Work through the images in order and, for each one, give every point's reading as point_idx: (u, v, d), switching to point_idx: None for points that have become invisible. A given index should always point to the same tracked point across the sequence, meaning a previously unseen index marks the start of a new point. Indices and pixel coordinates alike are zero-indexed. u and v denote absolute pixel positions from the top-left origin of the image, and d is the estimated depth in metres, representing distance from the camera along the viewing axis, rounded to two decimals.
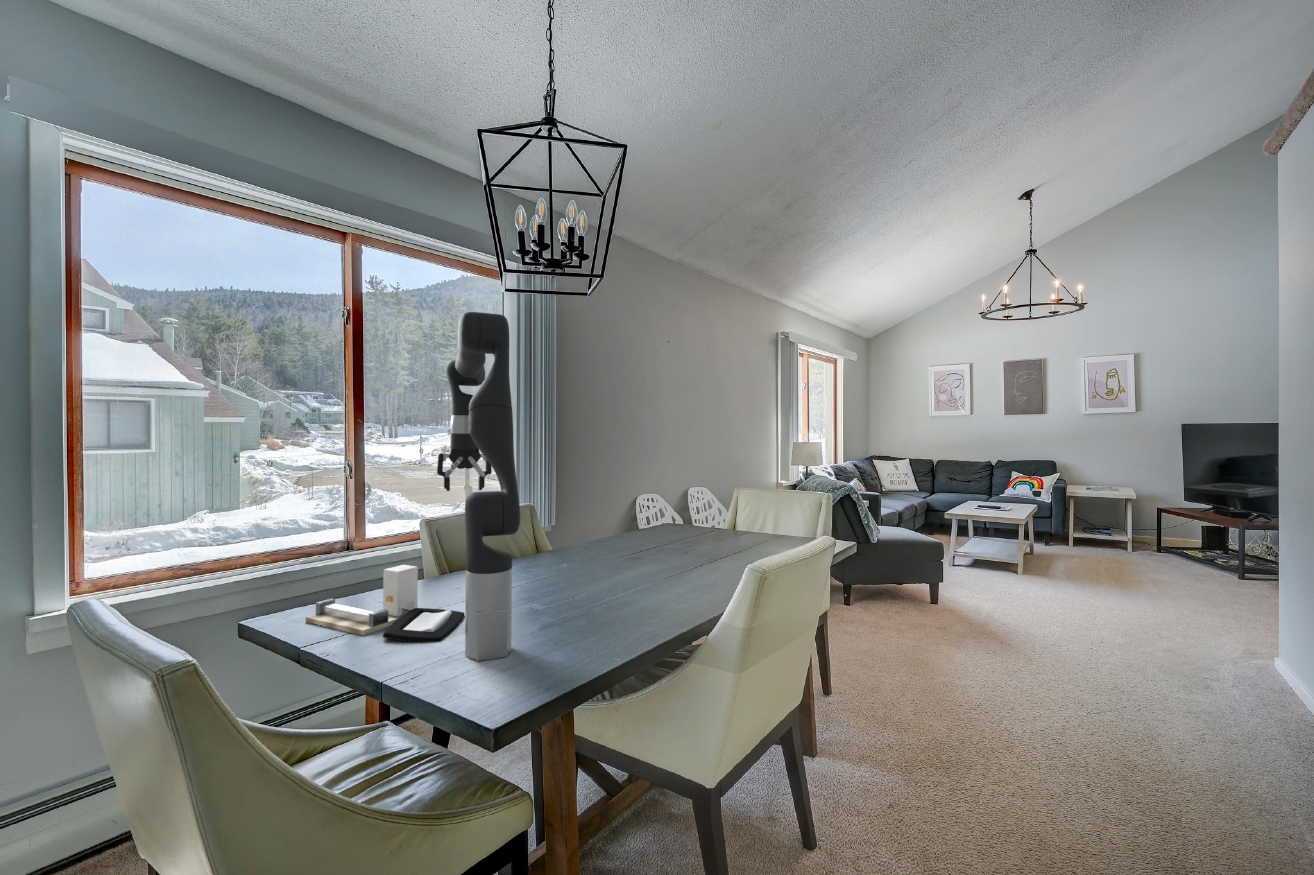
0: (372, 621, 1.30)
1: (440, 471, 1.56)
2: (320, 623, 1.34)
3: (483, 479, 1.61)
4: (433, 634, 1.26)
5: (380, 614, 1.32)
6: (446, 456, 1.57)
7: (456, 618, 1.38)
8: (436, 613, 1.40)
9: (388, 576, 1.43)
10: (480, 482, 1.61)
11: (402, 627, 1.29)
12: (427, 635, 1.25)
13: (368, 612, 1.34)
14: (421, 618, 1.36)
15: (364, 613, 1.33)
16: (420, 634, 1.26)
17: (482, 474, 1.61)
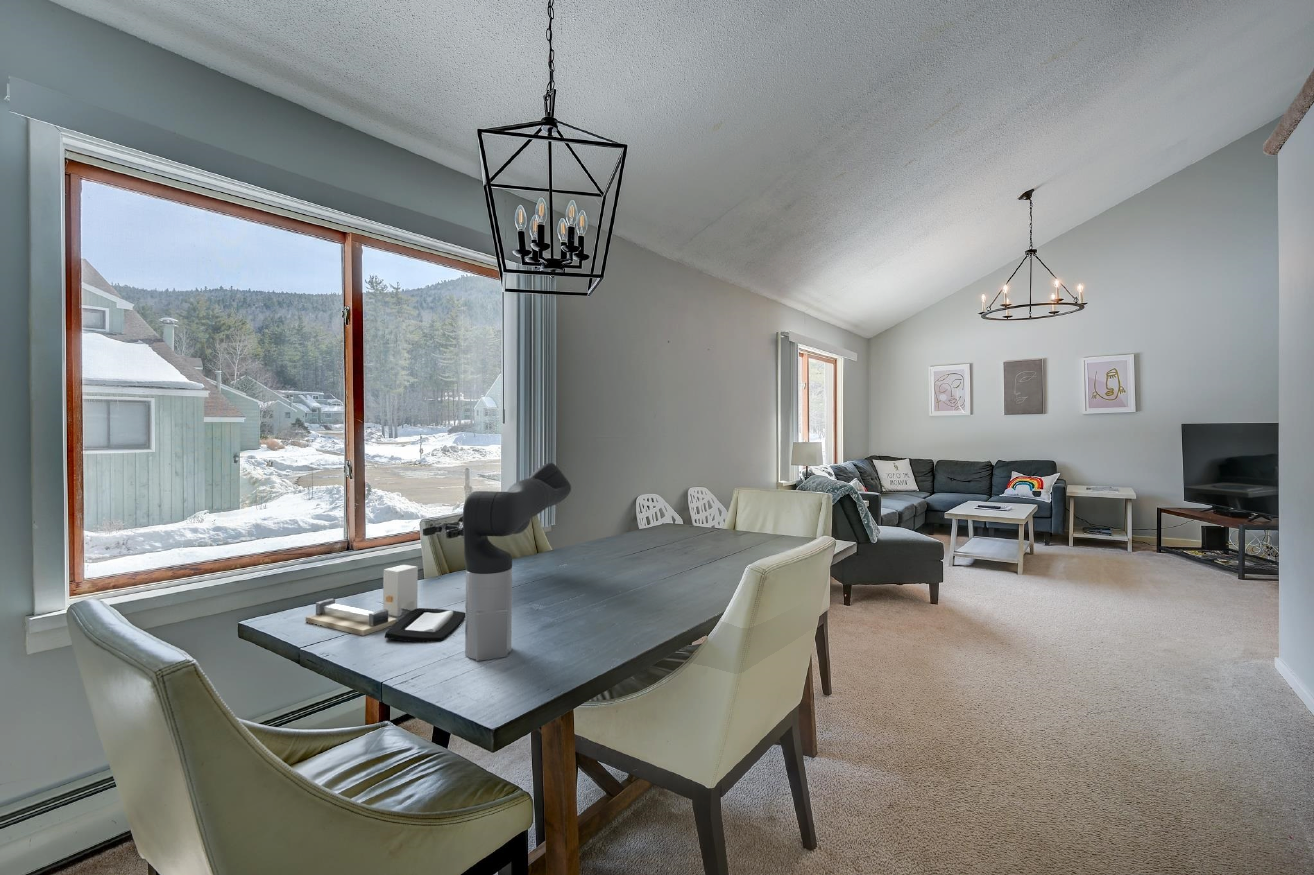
0: (372, 621, 1.30)
1: None
2: (320, 623, 1.34)
3: None
4: (435, 634, 1.26)
5: (380, 614, 1.32)
6: None
7: (457, 618, 1.38)
8: (437, 613, 1.40)
9: (388, 576, 1.43)
10: (430, 534, 1.59)
11: (404, 627, 1.29)
12: (429, 635, 1.25)
13: (368, 612, 1.34)
14: (423, 618, 1.36)
15: (364, 613, 1.33)
16: (422, 634, 1.26)
17: (435, 533, 1.61)
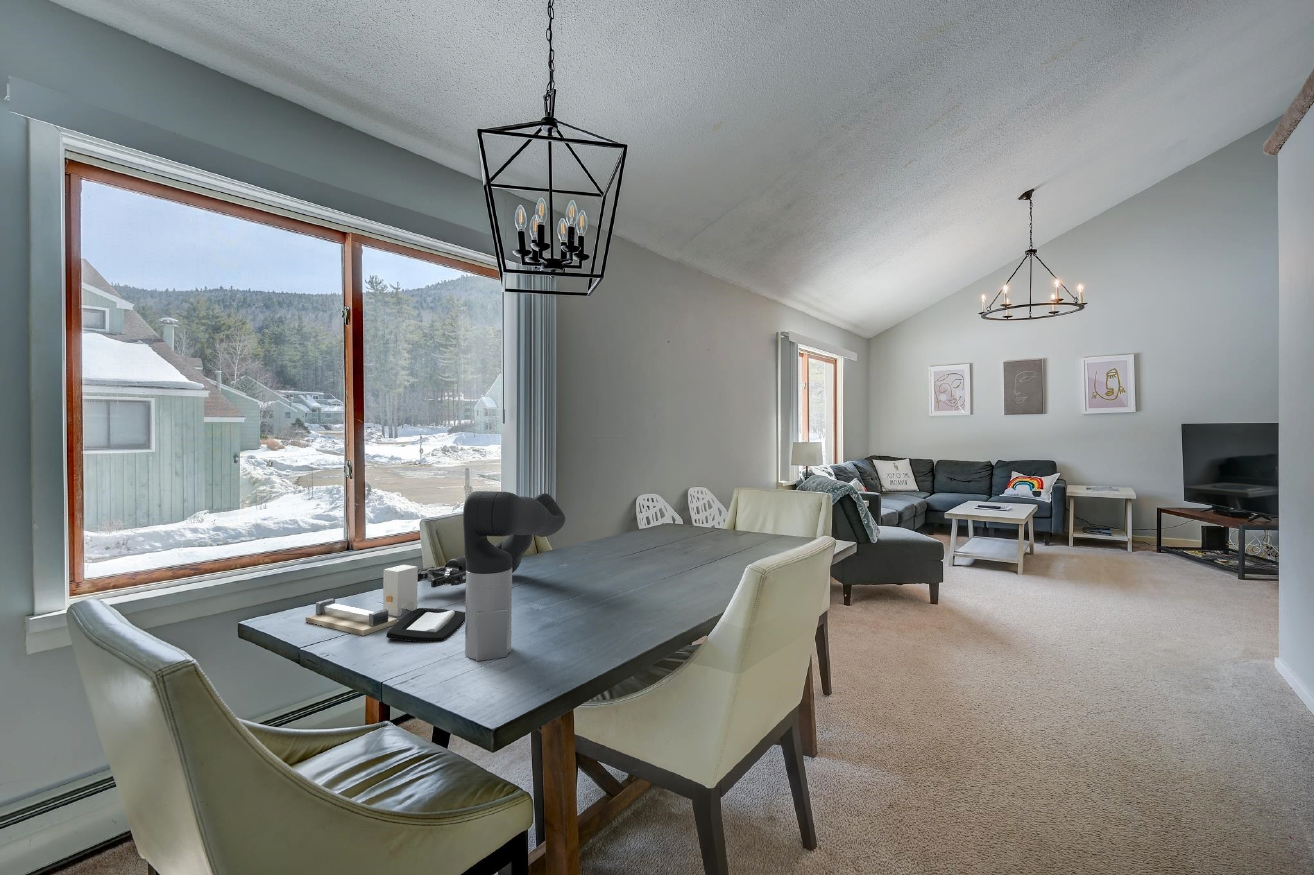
0: (372, 621, 1.30)
1: None
2: (320, 623, 1.34)
3: None
4: (436, 634, 1.26)
5: (380, 614, 1.32)
6: None
7: (459, 618, 1.38)
8: (439, 613, 1.40)
9: (388, 576, 1.43)
10: None
11: (406, 627, 1.29)
12: (430, 635, 1.25)
13: (368, 612, 1.34)
14: (424, 618, 1.36)
15: (364, 613, 1.33)
16: (424, 633, 1.26)
17: (421, 580, 1.58)
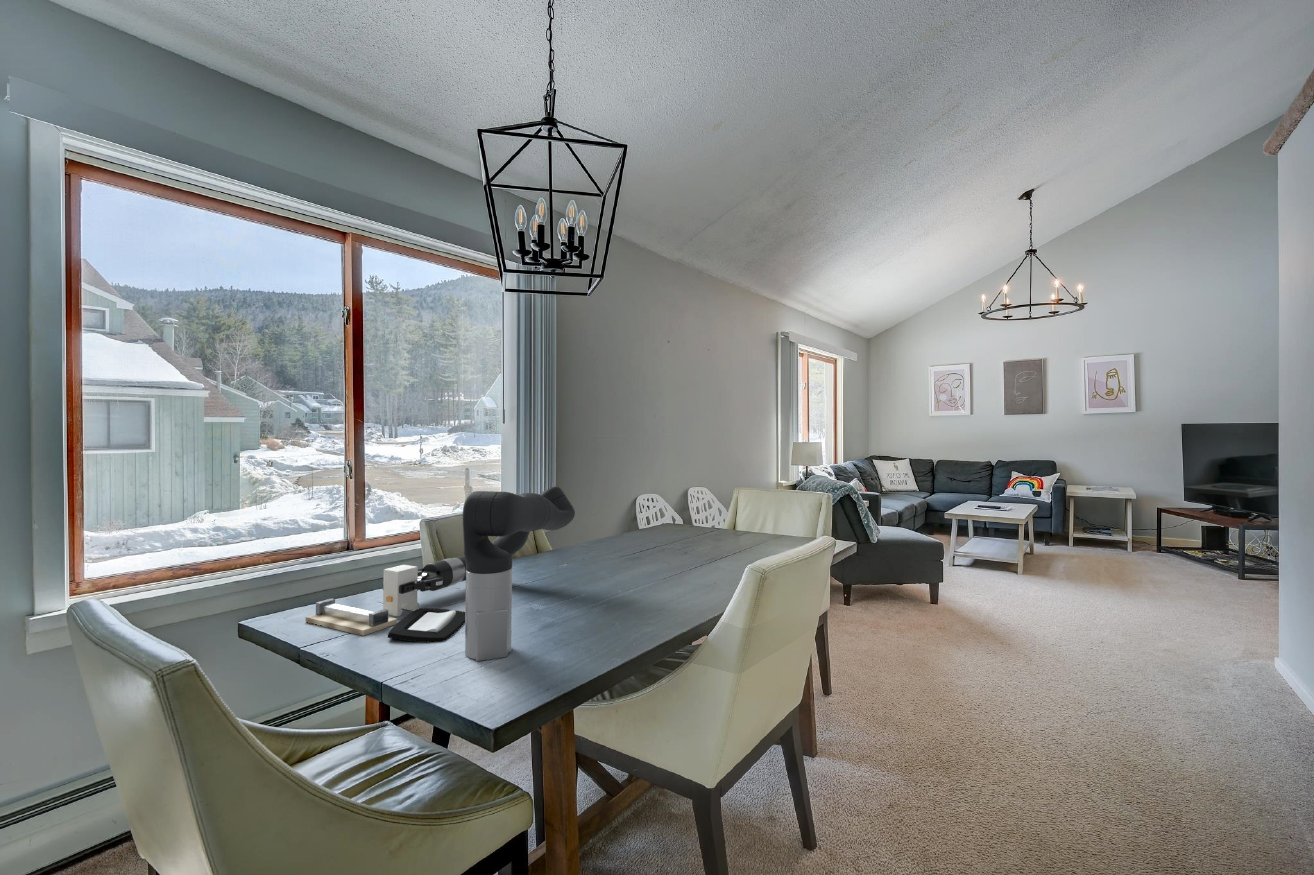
0: (372, 621, 1.30)
1: None
2: (320, 623, 1.34)
3: None
4: (438, 634, 1.26)
5: (380, 614, 1.32)
6: None
7: (460, 618, 1.38)
8: (440, 613, 1.40)
9: (388, 576, 1.43)
10: None
11: (407, 627, 1.29)
12: (432, 635, 1.25)
13: (368, 612, 1.34)
14: (425, 618, 1.36)
15: (364, 613, 1.33)
16: (425, 634, 1.26)
17: None
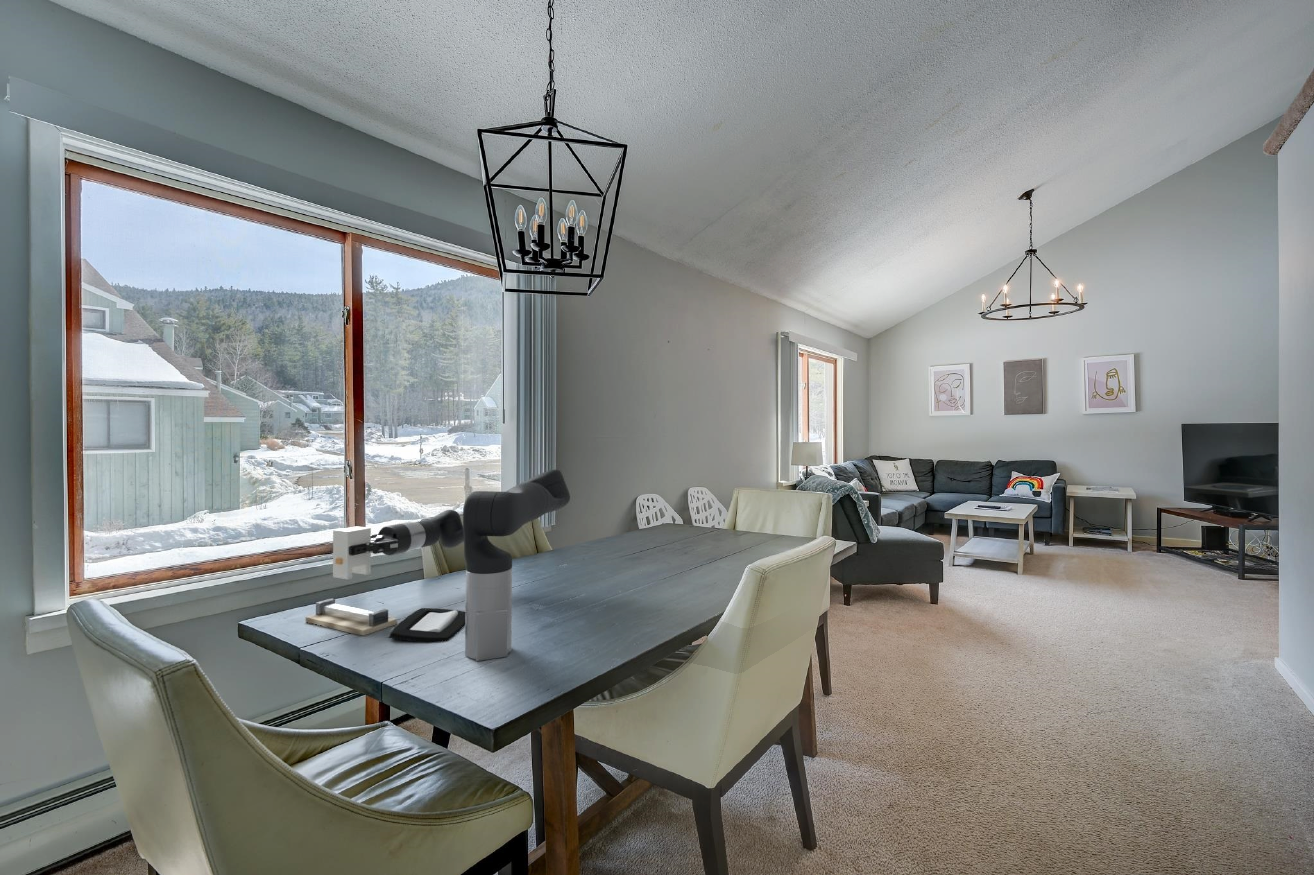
0: (372, 621, 1.30)
1: None
2: (320, 623, 1.34)
3: None
4: (440, 634, 1.26)
5: (380, 614, 1.32)
6: None
7: (462, 618, 1.38)
8: (442, 613, 1.40)
9: (338, 537, 1.33)
10: None
11: (409, 627, 1.29)
12: (434, 635, 1.25)
13: (368, 612, 1.34)
14: (427, 618, 1.36)
15: (364, 613, 1.33)
16: (427, 634, 1.26)
17: None
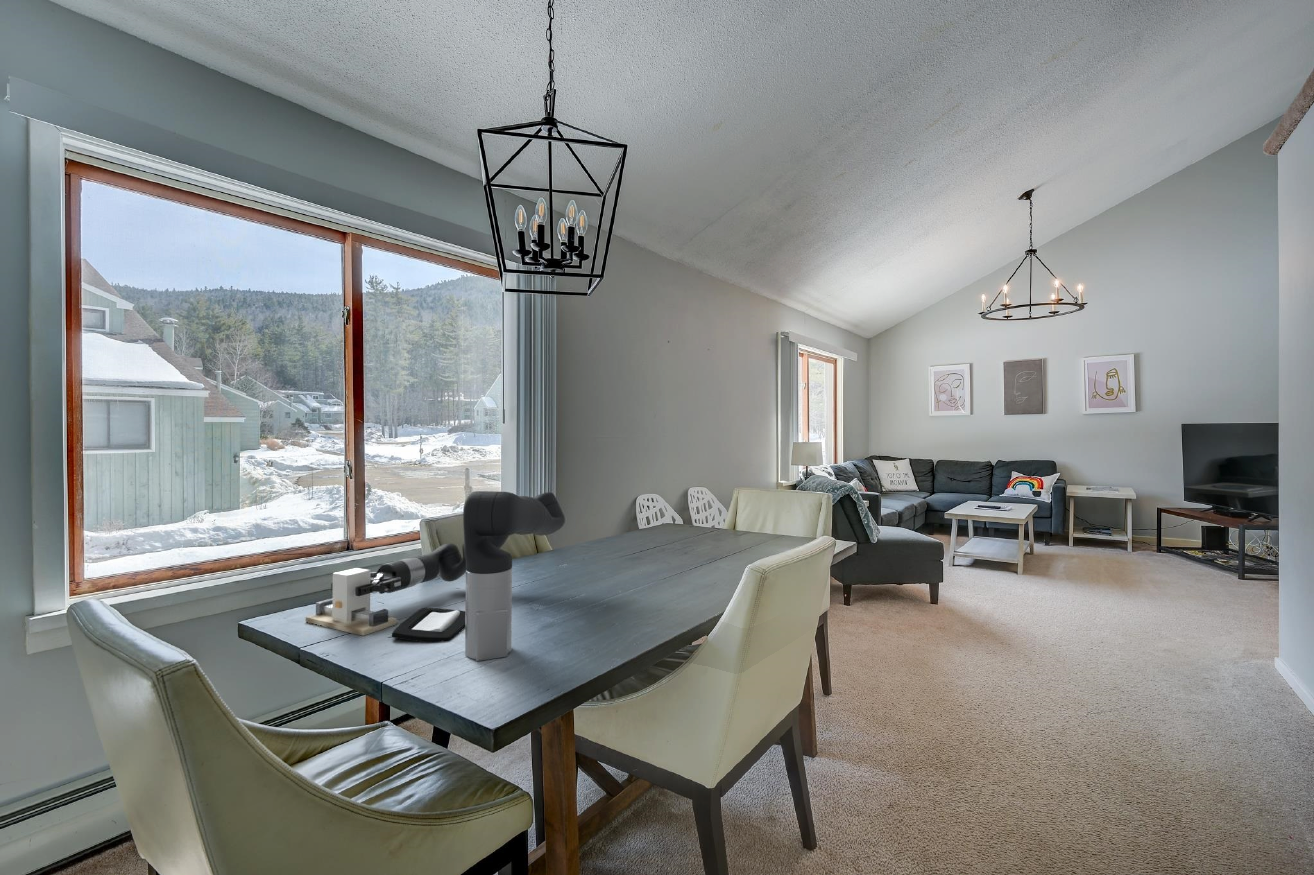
0: (372, 621, 1.30)
1: None
2: (320, 623, 1.34)
3: None
4: (442, 634, 1.26)
5: (380, 614, 1.32)
6: None
7: (464, 618, 1.38)
8: (444, 613, 1.40)
9: (337, 580, 1.34)
10: None
11: (411, 627, 1.29)
12: (436, 635, 1.25)
13: (368, 612, 1.34)
14: (429, 618, 1.36)
15: (364, 613, 1.33)
16: (429, 633, 1.26)
17: None
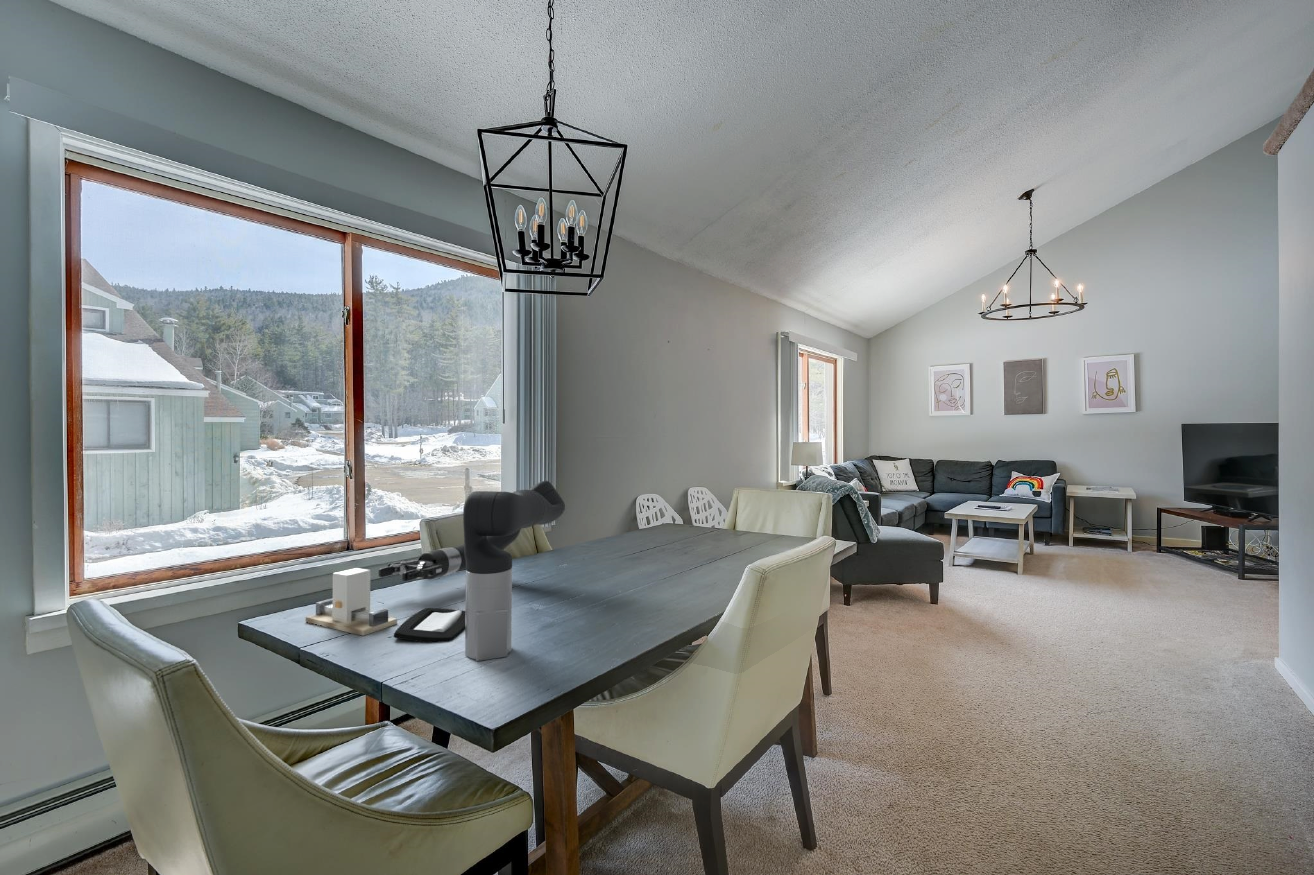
0: (372, 621, 1.30)
1: None
2: (320, 623, 1.34)
3: None
4: (443, 634, 1.26)
5: (380, 614, 1.32)
6: None
7: None
8: (446, 613, 1.40)
9: (337, 580, 1.34)
10: (387, 575, 1.50)
11: (413, 627, 1.29)
12: (437, 635, 1.25)
13: (368, 612, 1.34)
14: (431, 618, 1.36)
15: (364, 613, 1.33)
16: (431, 634, 1.26)
17: None
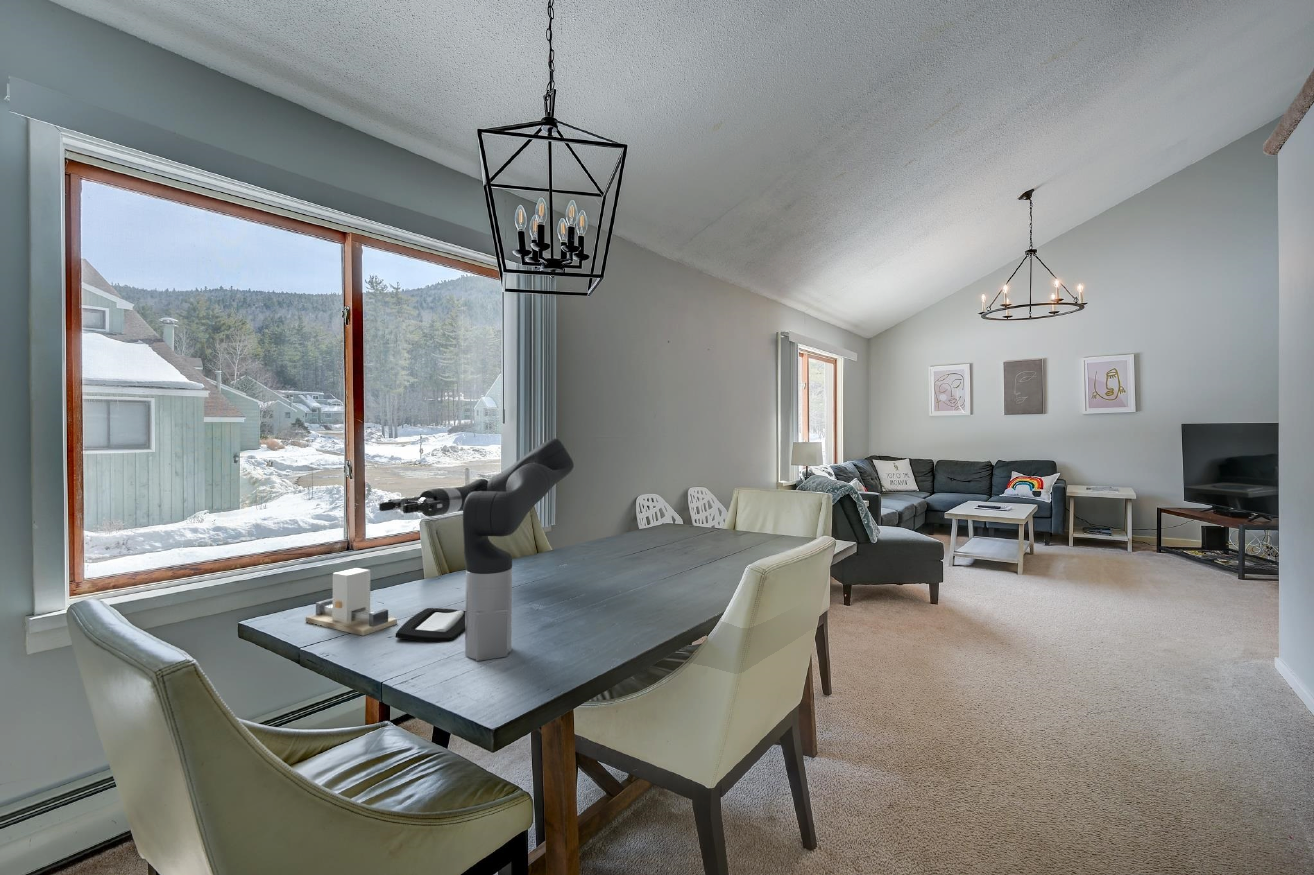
0: (372, 621, 1.30)
1: None
2: (320, 623, 1.34)
3: None
4: (445, 634, 1.26)
5: (380, 614, 1.32)
6: None
7: None
8: (447, 613, 1.40)
9: (337, 580, 1.34)
10: (387, 510, 1.50)
11: (415, 627, 1.30)
12: (439, 635, 1.25)
13: (368, 612, 1.34)
14: (433, 618, 1.36)
15: (364, 613, 1.33)
16: (432, 633, 1.26)
17: (393, 509, 1.52)
